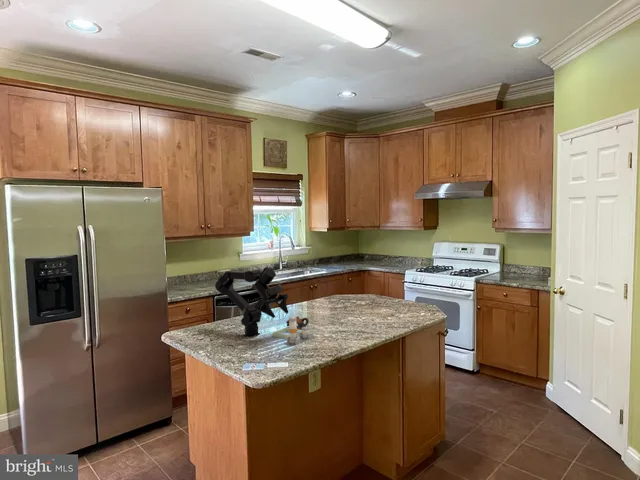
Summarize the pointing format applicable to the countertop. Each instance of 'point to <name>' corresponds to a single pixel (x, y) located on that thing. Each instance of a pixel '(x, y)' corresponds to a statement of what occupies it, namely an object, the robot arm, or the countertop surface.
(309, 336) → the block
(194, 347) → the countertop surface
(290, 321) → the banded fuse
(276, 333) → the tray
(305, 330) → the cylinder
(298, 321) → the pottery mug
